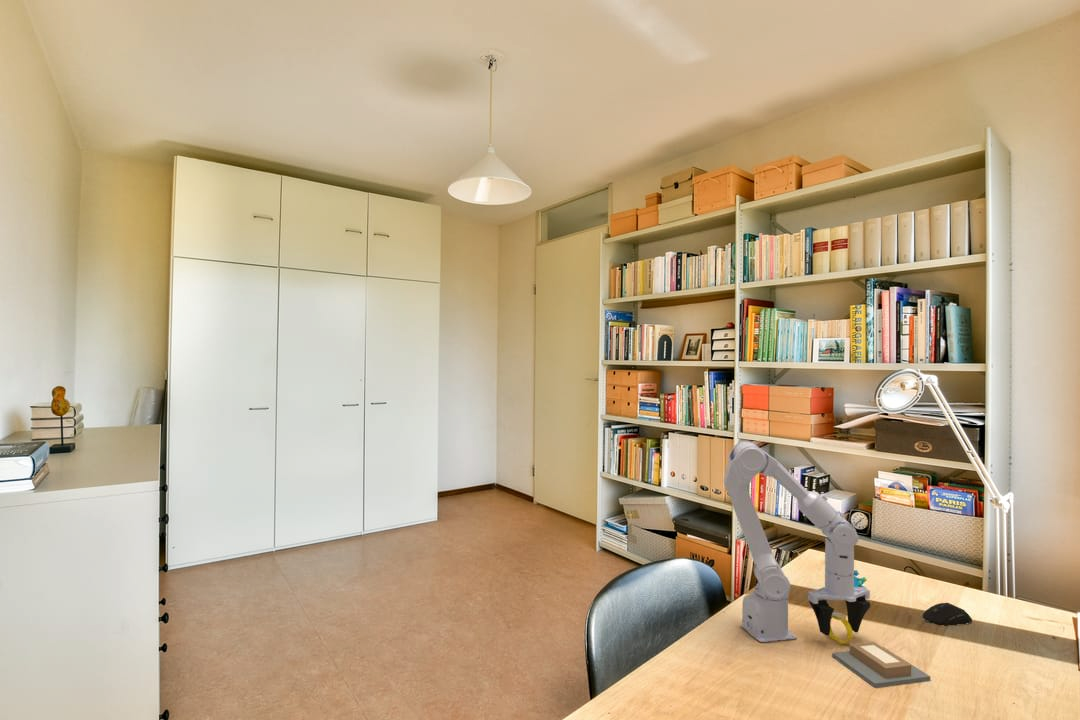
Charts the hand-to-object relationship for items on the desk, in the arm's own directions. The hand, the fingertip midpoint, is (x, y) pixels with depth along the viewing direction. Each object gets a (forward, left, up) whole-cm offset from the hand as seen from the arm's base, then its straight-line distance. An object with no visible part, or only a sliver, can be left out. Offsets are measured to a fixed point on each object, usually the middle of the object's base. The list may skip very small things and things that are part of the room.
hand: (839, 631), depth 119 cm
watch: (0, 0, -2) cm, 2 cm away
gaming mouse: (+33, +4, -3) cm, 34 cm away
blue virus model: (+22, +21, -2) cm, 31 cm away
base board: (0, -11, -2) cm, 11 cm away
